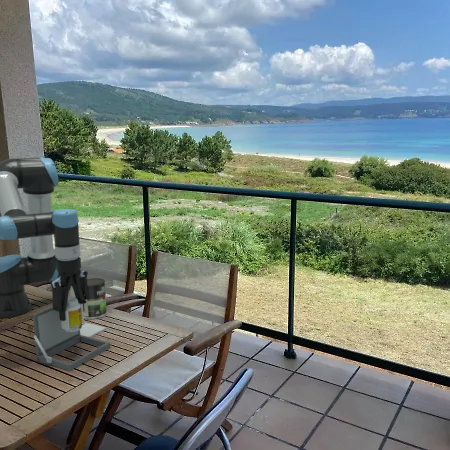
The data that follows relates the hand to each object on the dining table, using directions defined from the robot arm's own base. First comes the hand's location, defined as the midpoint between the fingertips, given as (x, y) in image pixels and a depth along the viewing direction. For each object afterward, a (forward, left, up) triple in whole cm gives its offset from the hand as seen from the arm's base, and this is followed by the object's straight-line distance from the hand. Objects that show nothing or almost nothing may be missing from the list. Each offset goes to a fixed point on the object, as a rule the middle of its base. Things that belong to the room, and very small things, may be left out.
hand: (73, 325), depth 146 cm
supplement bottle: (0, 0, -2) cm, 2 cm away
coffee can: (-19, +29, -10) cm, 36 cm away
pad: (-9, +15, -10) cm, 20 cm away
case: (+1, 0, -10) cm, 10 cm away
